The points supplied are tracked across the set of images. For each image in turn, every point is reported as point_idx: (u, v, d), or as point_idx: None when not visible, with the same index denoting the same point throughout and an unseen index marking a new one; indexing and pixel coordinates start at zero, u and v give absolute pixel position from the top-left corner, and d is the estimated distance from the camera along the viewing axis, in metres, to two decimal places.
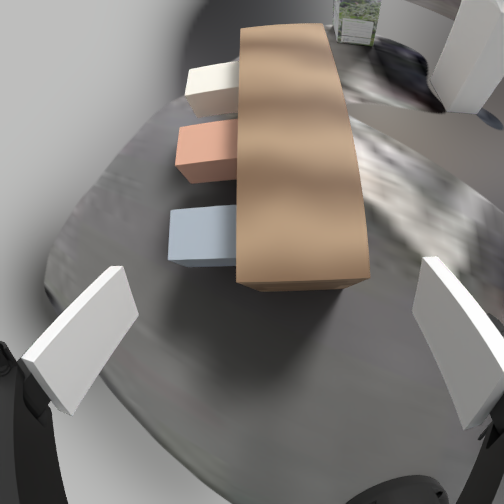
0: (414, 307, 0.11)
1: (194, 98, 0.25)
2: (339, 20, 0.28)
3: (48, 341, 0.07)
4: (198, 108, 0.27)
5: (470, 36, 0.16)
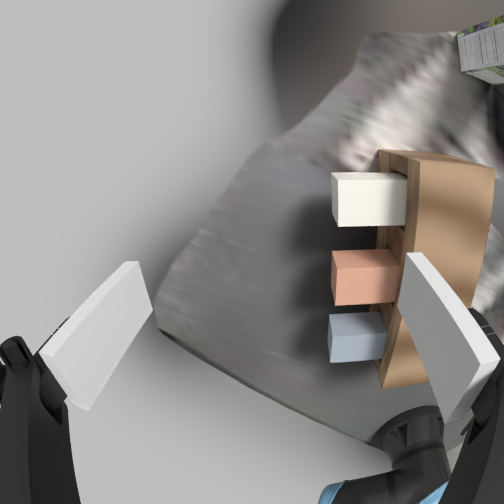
0: (399, 302, 0.12)
1: None
2: (482, 68, 0.17)
3: (67, 335, 0.08)
4: None
5: None
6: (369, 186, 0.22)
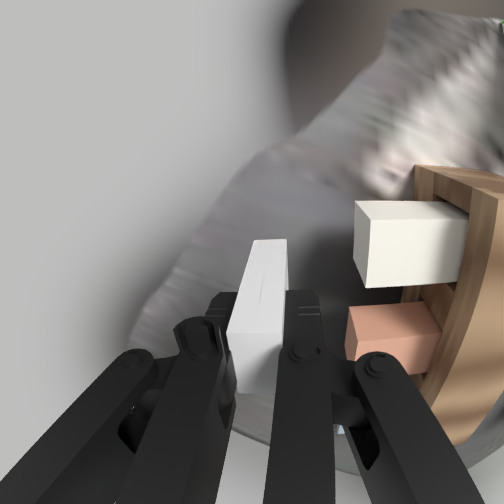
0: None
1: None
2: None
3: (254, 309, 0.08)
4: None
5: None
6: (415, 229, 0.14)
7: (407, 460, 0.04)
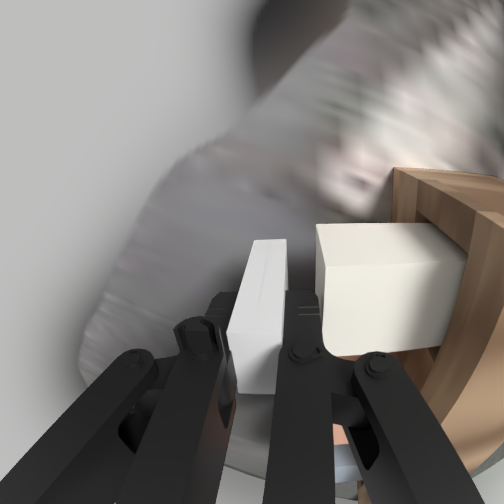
0: None
1: None
2: None
3: (254, 310, 0.08)
4: None
5: None
6: (401, 278, 0.09)
7: (407, 460, 0.04)
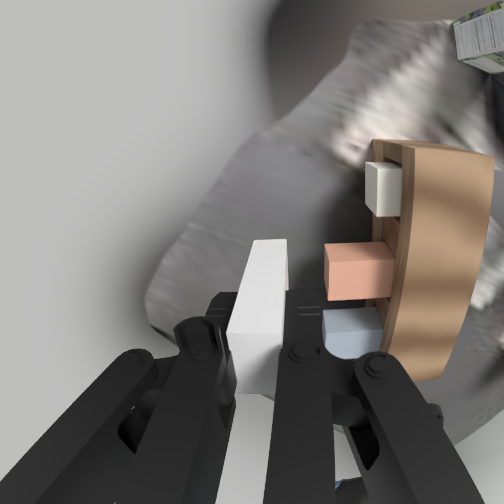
0: None
1: None
2: (479, 56, 0.16)
3: (254, 310, 0.08)
4: None
5: None
6: None
7: (407, 460, 0.04)
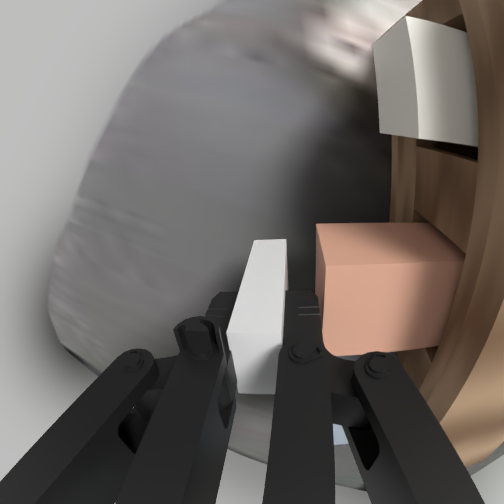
0: None
1: None
2: None
3: (254, 309, 0.08)
4: None
5: None
6: None
7: (407, 460, 0.04)
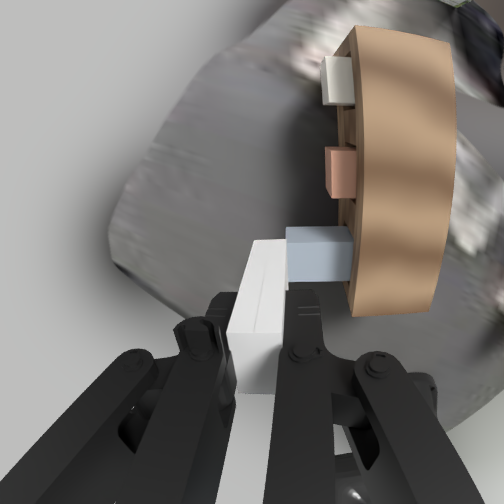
0: None
1: (337, 103, 0.20)
2: None
3: (254, 309, 0.08)
4: (332, 104, 0.22)
5: None
6: None
7: (407, 460, 0.04)
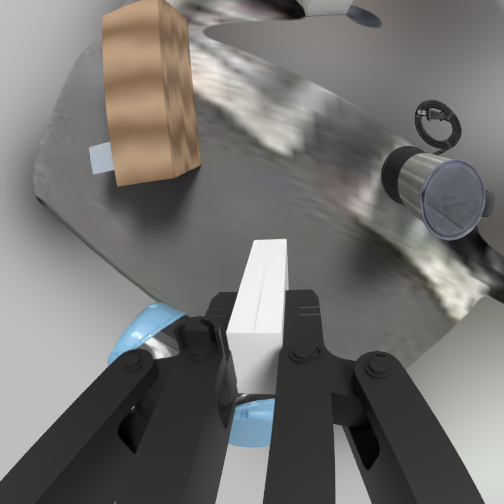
0: None
1: None
2: None
3: (254, 310, 0.08)
4: None
5: None
6: None
7: (407, 460, 0.04)
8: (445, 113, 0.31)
